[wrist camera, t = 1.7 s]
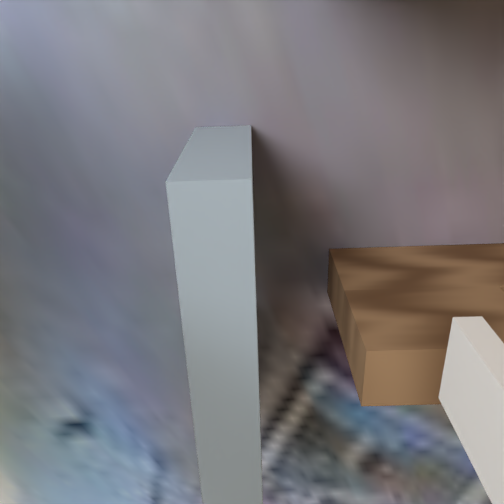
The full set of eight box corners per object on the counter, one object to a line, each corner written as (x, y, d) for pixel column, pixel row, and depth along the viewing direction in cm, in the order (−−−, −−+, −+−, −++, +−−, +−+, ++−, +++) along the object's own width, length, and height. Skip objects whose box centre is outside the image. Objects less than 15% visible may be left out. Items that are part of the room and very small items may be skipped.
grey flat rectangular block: (216, 387, 33) (204, 521, 24) (195, 127, 25) (165, 182, 16) (259, 385, 33) (263, 520, 24) (251, 125, 25) (252, 178, 16)
